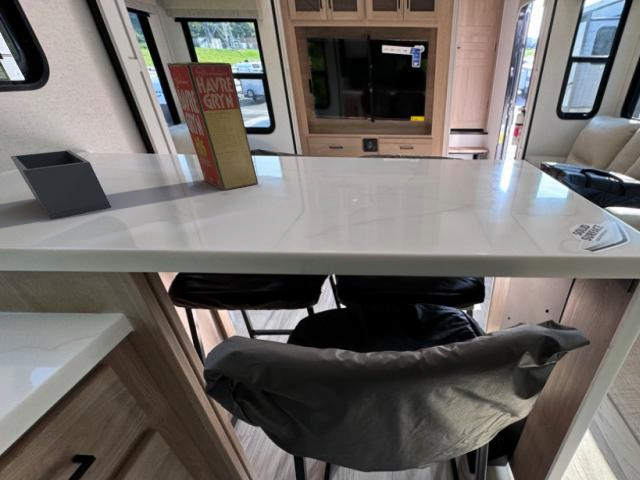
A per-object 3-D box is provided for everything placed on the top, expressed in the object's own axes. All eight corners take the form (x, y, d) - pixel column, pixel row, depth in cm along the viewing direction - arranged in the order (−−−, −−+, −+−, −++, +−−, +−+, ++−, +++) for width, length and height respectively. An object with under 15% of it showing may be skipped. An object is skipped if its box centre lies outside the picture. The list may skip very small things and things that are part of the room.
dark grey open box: (36, 199, 72) (10, 156, 67) (90, 190, 78) (69, 149, 73) (51, 219, 63) (22, 170, 58) (111, 207, 69) (89, 162, 64)
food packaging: (201, 180, 87) (164, 61, 72) (237, 174, 92) (209, 63, 78) (222, 191, 79) (185, 61, 65) (260, 183, 84) (233, 62, 70)
